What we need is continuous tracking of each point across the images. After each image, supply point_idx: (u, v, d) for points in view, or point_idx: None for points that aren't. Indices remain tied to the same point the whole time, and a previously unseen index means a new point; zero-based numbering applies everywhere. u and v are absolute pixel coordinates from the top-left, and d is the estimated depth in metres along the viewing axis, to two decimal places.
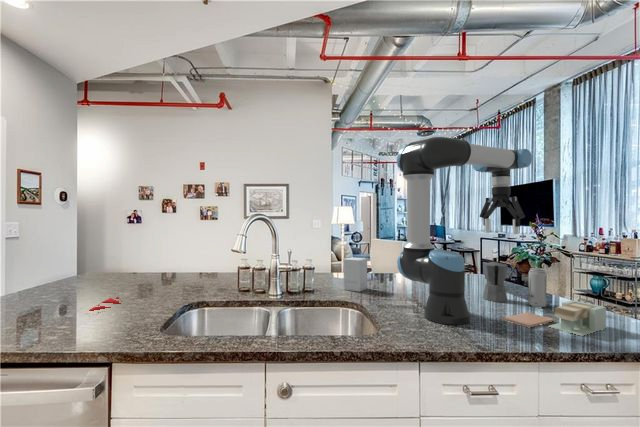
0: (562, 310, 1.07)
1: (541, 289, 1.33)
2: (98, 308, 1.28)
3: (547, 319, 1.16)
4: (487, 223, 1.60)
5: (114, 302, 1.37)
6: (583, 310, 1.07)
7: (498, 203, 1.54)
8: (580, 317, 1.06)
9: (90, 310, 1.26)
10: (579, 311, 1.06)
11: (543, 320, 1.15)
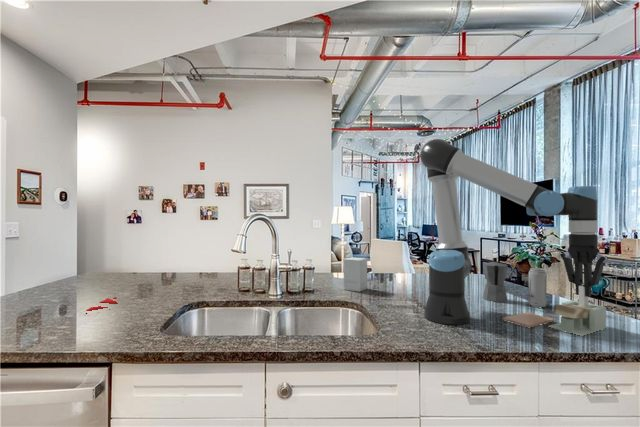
0: (563, 307, 1.07)
1: (541, 289, 1.33)
2: (95, 308, 1.28)
3: (547, 319, 1.16)
4: None
5: (111, 302, 1.37)
6: (584, 310, 1.07)
7: (579, 257, 1.11)
8: (580, 316, 1.06)
9: (87, 310, 1.26)
10: (580, 310, 1.06)
11: (543, 320, 1.15)
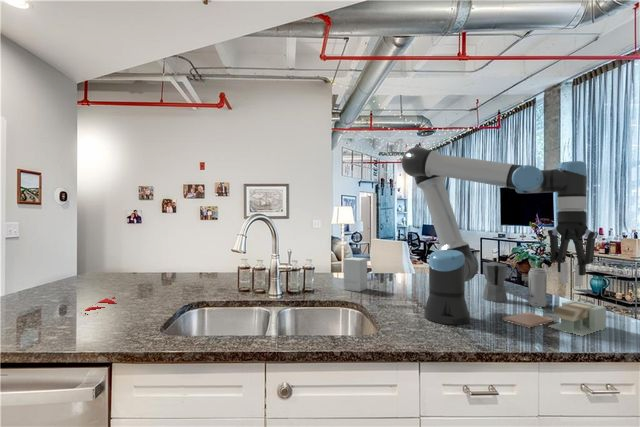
0: (562, 310, 1.07)
1: (541, 289, 1.33)
2: (93, 308, 1.28)
3: (547, 319, 1.16)
4: (564, 269, 1.10)
5: (110, 302, 1.37)
6: (583, 310, 1.07)
7: (568, 234, 1.08)
8: (580, 317, 1.06)
9: (85, 310, 1.26)
10: (579, 311, 1.06)
11: (543, 320, 1.15)
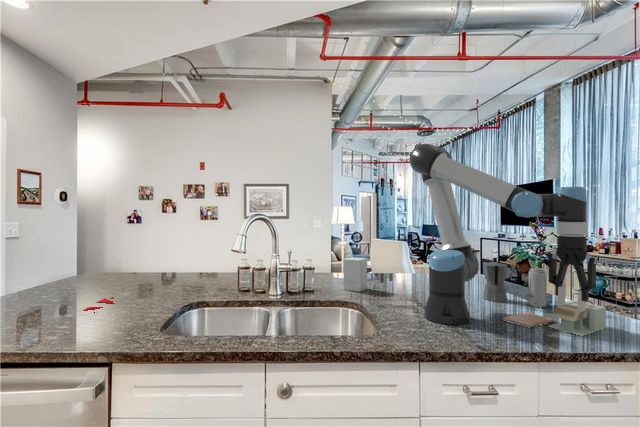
0: (562, 310, 1.07)
1: (541, 289, 1.33)
2: (91, 308, 1.28)
3: (547, 319, 1.16)
4: (562, 293, 1.10)
5: (108, 302, 1.37)
6: None
7: (567, 259, 1.08)
8: (580, 317, 1.06)
9: (83, 310, 1.26)
10: None
11: (543, 320, 1.15)
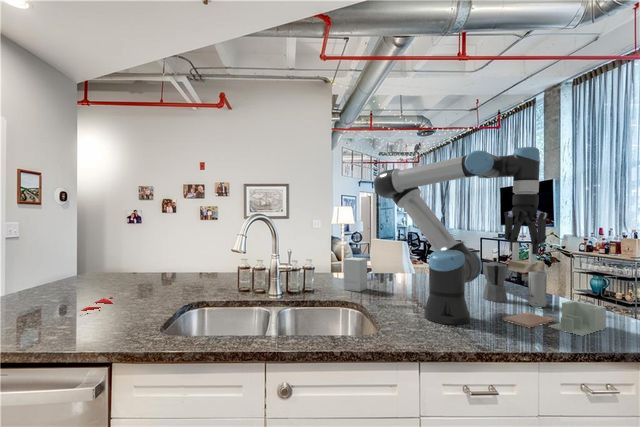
0: (514, 263, 1.14)
1: (541, 289, 1.33)
2: (90, 308, 1.28)
3: (547, 319, 1.16)
4: (515, 249, 1.17)
5: (107, 302, 1.37)
6: None
7: (521, 216, 1.15)
8: (530, 270, 1.13)
9: (82, 310, 1.26)
10: (530, 264, 1.13)
11: (543, 320, 1.15)
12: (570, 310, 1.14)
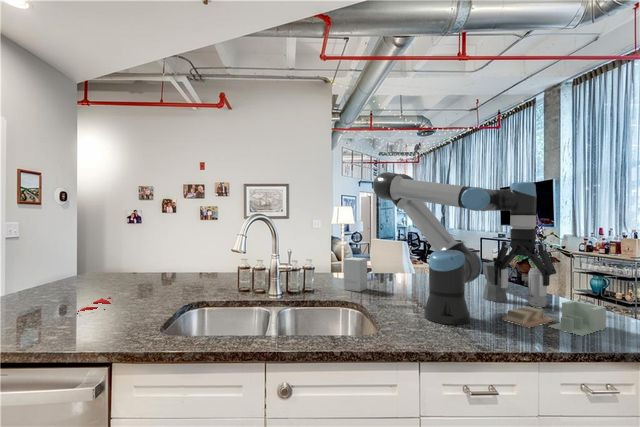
0: (513, 313, 1.14)
1: None
2: (88, 309, 1.28)
3: (547, 319, 1.16)
4: (504, 275, 1.21)
5: (105, 302, 1.37)
6: (533, 313, 1.14)
7: (519, 250, 1.15)
8: (530, 320, 1.13)
9: None
10: (529, 314, 1.13)
11: (543, 320, 1.15)
12: (570, 310, 1.14)
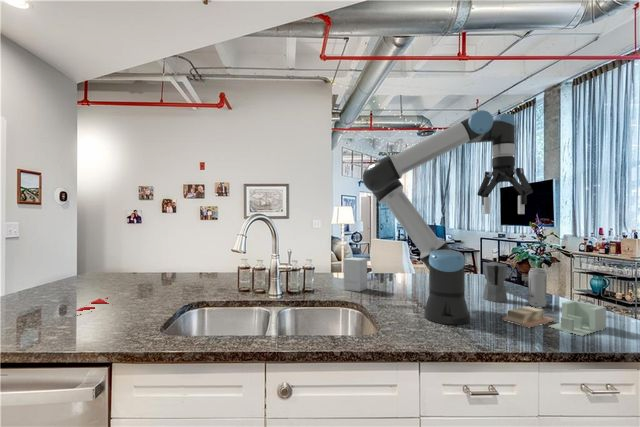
0: (513, 313, 1.14)
1: (541, 289, 1.33)
2: (85, 309, 1.27)
3: (547, 319, 1.16)
4: (486, 202, 1.33)
5: (102, 303, 1.37)
6: (533, 313, 1.14)
7: (500, 177, 1.27)
8: (530, 320, 1.13)
9: None
10: (529, 314, 1.13)
11: (543, 320, 1.15)
12: (570, 310, 1.14)
